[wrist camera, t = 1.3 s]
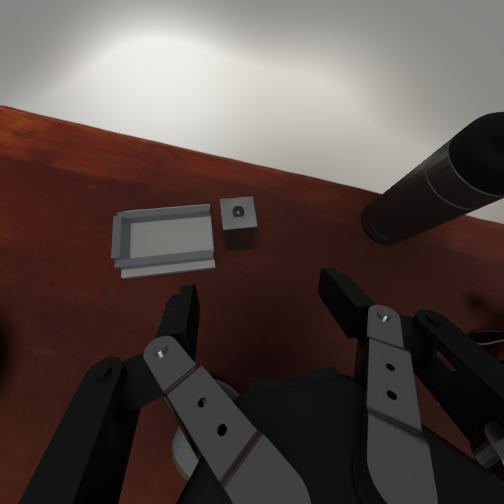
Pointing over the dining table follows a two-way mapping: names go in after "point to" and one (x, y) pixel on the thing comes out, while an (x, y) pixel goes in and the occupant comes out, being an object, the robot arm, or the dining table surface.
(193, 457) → the ceramic mug
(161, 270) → the grey open box
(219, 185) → the dining table surface
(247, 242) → the aluminium block
